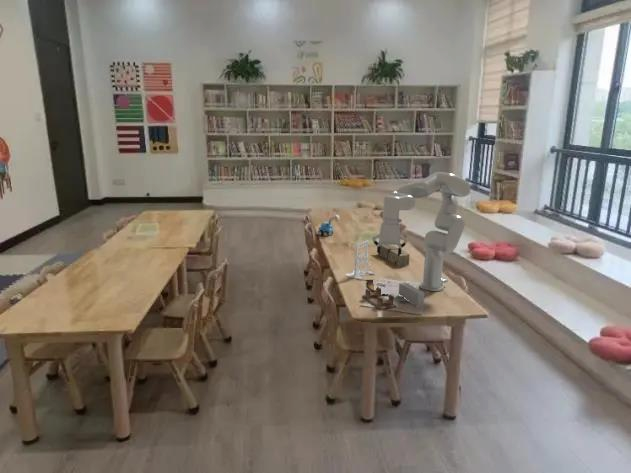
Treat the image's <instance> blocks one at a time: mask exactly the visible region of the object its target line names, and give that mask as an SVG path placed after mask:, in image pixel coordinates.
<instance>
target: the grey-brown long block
mask: <svg viewBox="0 0 631 473" xmlns="http://www.w3.org/2000/svg"><path fill="white" fill-rule="evenodd" d="M380 246H381V247H380V255H379V256H381V257H382V258H383V257H384V259H385V258H386V259H385V260H387V261H388V262H390V263H392V264H394V265H395V266H397V267H399V268H402V267H403V268H404V267H407V266H409V265H410V253H408V252H406V251H404V250H402V249H401V254H400V256H398V248H399V247H398V246H395V245H392V244H381V245H380Z"/></svg>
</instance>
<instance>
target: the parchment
mask: <svg viewBox="0 0 631 473" xmlns="http://www.w3.org/2000/svg"><path fill="white" fill-rule="evenodd" d="M373 280H374V279H365V280H364V281H365V284H366V285H365V286H367V288H368V289H369V290H370V291H372V292H376V290H374V284H373Z"/></svg>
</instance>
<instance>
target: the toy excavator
mask: <svg viewBox="0 0 631 473" xmlns="http://www.w3.org/2000/svg"><path fill="white" fill-rule="evenodd" d="M333 221H335V222H338V221H340V215H338V214H335V215H333V216H332V217H330V218H329V219H328V221H325V222H322V223H321V224H320V226H319V227H318V231H317V235H318V236H322V235H323V236H324V237H325V238H327V237H328V236H331V235H333V234H334V229H335V228H334V227H333Z"/></svg>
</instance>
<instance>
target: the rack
mask: <svg viewBox="0 0 631 473" xmlns="http://www.w3.org/2000/svg"><path fill="white" fill-rule="evenodd" d="M371 291H372V290H371V289H369V288H366V289H365V293H364V294H363V295H362V296H361V297H362V298H363V299H364V300H366V301H367V302H369V303H371V304H372V305H373V306H375V307H376V308H378V309H379V310H381V311H385V310H389V309H395V308H397V304H395V303H394V302H395V295H393V294H390V295H389V296H388V299H387V298H385V297H384V296H383V295H381V288H379V287H377V288H376V292H374V291H372V292H371Z"/></svg>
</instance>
